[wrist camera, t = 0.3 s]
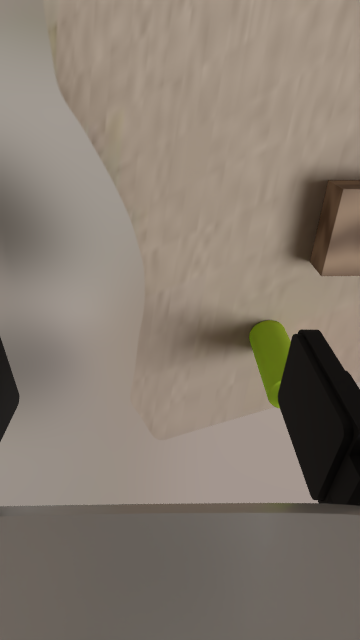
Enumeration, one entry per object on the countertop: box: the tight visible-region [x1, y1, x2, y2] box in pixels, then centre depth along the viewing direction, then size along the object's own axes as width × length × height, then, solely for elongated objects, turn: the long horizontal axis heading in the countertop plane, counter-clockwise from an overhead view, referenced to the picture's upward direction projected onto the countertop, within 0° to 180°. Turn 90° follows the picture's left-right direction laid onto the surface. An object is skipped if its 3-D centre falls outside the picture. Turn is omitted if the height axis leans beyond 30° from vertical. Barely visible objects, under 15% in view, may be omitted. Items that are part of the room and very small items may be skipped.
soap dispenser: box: [249, 320, 291, 408], centre depth 48 cm, size 6×7×20 cm
